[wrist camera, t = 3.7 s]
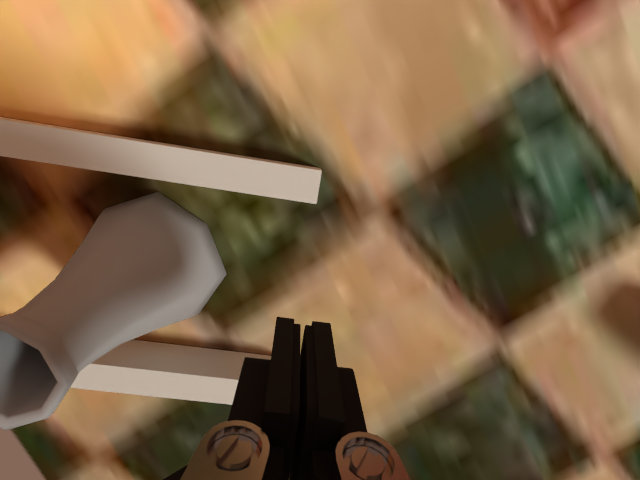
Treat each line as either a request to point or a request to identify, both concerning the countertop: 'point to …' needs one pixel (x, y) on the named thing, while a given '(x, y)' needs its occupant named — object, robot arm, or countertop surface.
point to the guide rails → (173, 166)
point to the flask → (105, 301)
